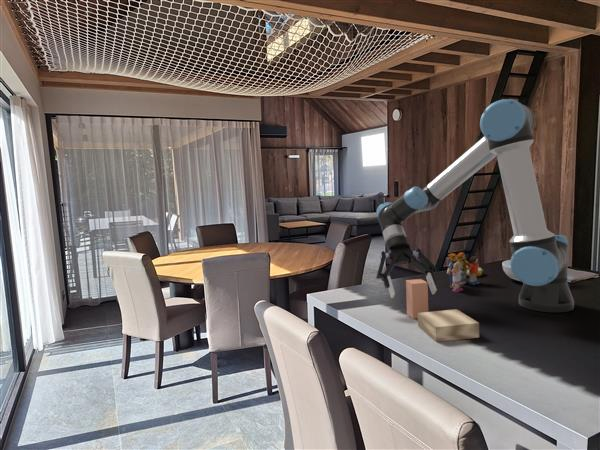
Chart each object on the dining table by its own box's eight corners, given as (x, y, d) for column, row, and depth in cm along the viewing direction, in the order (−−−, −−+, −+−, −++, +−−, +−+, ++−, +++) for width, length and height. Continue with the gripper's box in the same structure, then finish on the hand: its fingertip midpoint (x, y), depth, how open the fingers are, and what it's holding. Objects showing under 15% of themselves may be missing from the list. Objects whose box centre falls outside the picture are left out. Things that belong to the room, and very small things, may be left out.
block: (421, 312, 130) (420, 278, 129) (428, 317, 125) (427, 282, 124) (406, 313, 129) (405, 280, 128) (413, 318, 124) (411, 283, 123)
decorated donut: (473, 279, 167) (472, 270, 167) (450, 275, 176) (450, 266, 176) (487, 274, 173) (487, 266, 173) (464, 271, 182) (464, 262, 182)
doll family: (456, 293, 148) (456, 258, 146) (433, 289, 155) (432, 256, 153) (482, 282, 162) (481, 249, 160) (459, 278, 169) (458, 247, 167)
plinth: (456, 322, 119) (456, 309, 119) (479, 337, 107) (479, 322, 107) (417, 326, 118) (417, 312, 117) (436, 341, 106) (435, 327, 106)
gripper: (427, 244, 145) (447, 296, 132) (359, 249, 142) (373, 303, 129) (433, 231, 139) (455, 284, 126) (362, 236, 137) (377, 291, 123)
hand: (413, 294), depth 127 cm, fingers open, 13 cm apart
